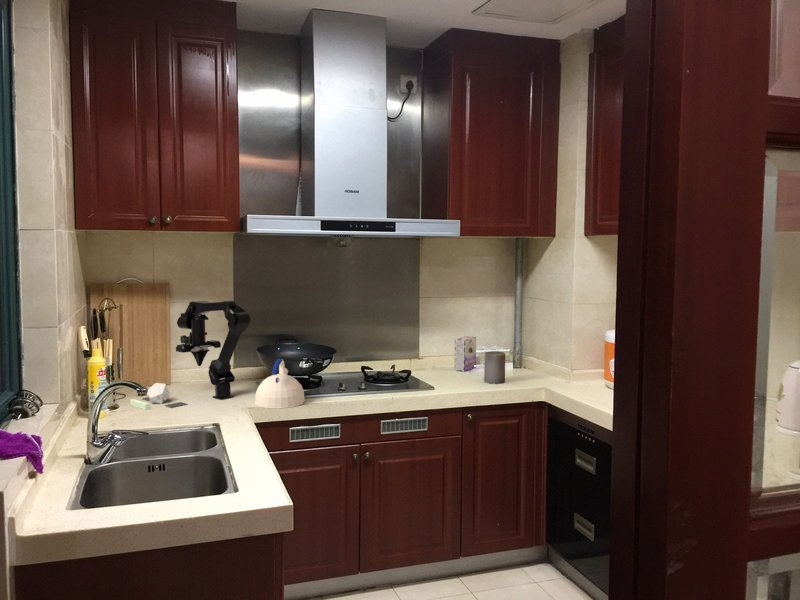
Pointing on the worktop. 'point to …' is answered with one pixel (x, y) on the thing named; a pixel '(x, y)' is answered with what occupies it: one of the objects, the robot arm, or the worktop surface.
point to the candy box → (465, 353)
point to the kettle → (279, 389)
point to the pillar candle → (494, 367)
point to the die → (158, 393)
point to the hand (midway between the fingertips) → (199, 366)
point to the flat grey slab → (146, 405)
